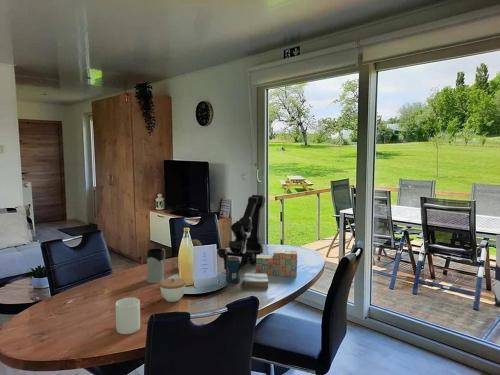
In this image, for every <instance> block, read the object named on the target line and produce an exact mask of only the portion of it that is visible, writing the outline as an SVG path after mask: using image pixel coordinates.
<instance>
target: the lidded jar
mask: <svg viewBox="0 0 500 375" xmlns="http://www.w3.org/2000/svg"><path fill="white" fill-rule="evenodd" d="M159 285H160V293H161V296H162V298H163V299H165V301H166V302H169V303H174V302H175V303H176V302H178V301H180V300H181V299H182V297H183V296H184V294H185V292H186V291H185V289H186V281H185V279H184V278H181V277H169V278H164V280H162V281H161V282H159Z"/></svg>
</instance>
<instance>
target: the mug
mask: <svg viewBox="0 0 500 375" xmlns="http://www.w3.org/2000/svg"><path fill="white" fill-rule="evenodd" d="M114 305H115V309H114V310H115V326H116V327H115V328H116V329H115V330H116V333H118V334H119V335H120V334H121V335H131V334H134V333H136V332H138V331H139V330H140V328H141V308H140V307H141V302H140V299H139V298H138V297H124V298H121V299H118V300H117V301H115V304H114Z"/></svg>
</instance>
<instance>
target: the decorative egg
mask: <svg viewBox="0 0 500 375" xmlns="http://www.w3.org/2000/svg"><path fill="white" fill-rule="evenodd" d="M191 241H192V243H193V246H203V244H202V242H201V241H200V240H198V239H192V240H191Z"/></svg>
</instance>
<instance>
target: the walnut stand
mask: <svg viewBox="0 0 500 375" xmlns="http://www.w3.org/2000/svg"><path fill="white" fill-rule="evenodd" d="M244 289H269V278H268V275H267V273H256V272H255V273H254V272H253V273H249V272H248V273H247V272H245V273H244Z"/></svg>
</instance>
